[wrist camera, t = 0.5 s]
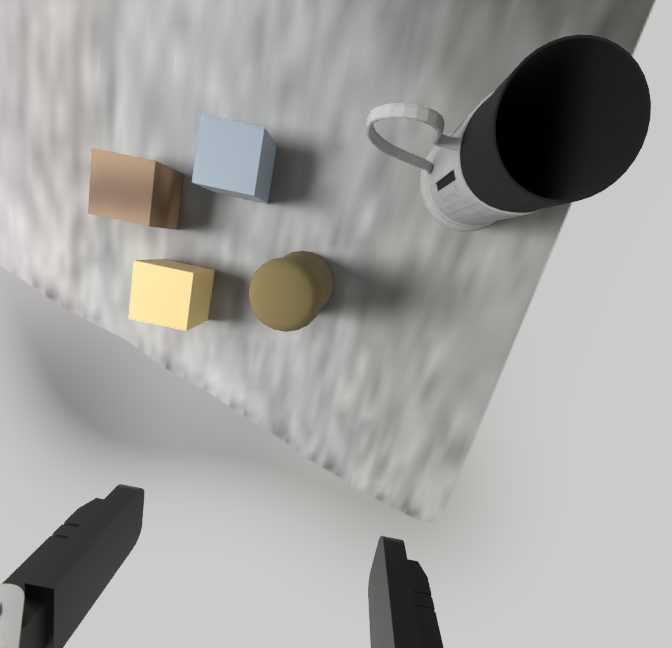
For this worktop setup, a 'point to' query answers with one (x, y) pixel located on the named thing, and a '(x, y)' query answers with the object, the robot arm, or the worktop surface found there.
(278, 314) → the cork
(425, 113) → the glass holder
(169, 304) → the mustard block
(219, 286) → the worktop surface
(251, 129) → the slate block
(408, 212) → the worktop surface
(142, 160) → the walnut block
